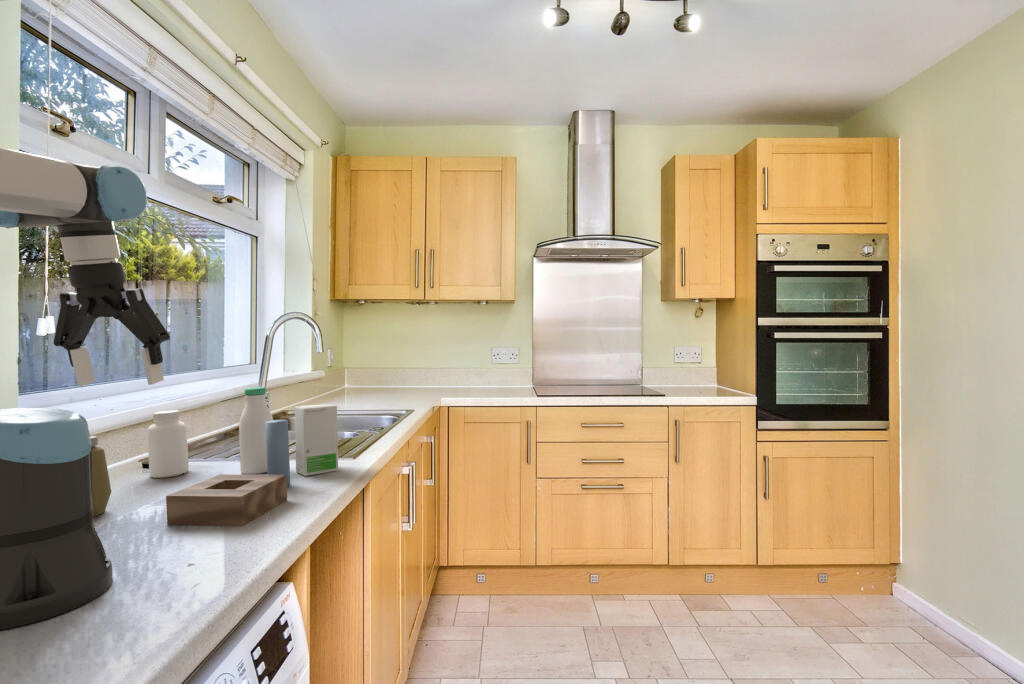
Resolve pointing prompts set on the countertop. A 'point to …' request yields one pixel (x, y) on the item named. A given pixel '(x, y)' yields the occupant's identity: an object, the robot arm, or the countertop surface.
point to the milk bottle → (254, 432)
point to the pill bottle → (167, 445)
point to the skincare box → (316, 439)
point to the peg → (278, 448)
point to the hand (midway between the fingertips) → (121, 383)
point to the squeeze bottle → (99, 478)
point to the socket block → (226, 500)
